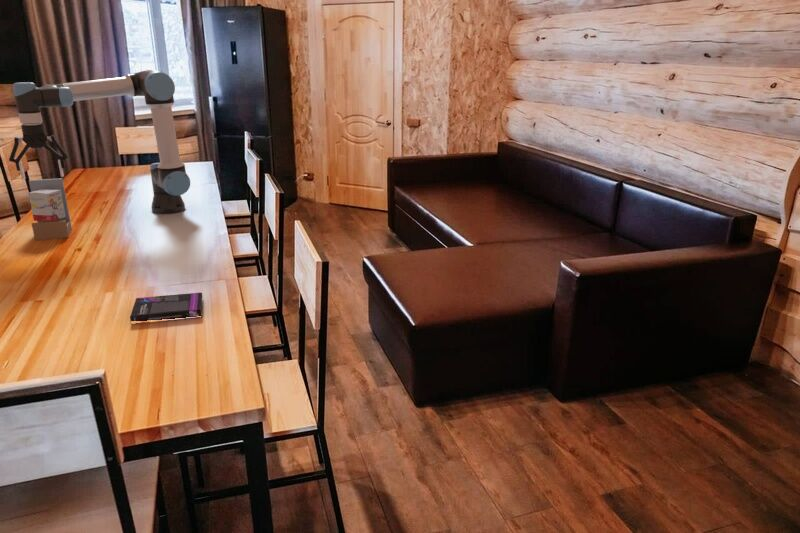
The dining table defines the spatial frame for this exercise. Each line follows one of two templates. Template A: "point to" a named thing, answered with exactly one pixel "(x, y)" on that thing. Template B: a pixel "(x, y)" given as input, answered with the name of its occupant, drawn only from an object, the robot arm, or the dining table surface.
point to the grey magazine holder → (57, 227)
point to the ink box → (47, 205)
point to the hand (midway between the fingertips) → (43, 177)
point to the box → (167, 307)
